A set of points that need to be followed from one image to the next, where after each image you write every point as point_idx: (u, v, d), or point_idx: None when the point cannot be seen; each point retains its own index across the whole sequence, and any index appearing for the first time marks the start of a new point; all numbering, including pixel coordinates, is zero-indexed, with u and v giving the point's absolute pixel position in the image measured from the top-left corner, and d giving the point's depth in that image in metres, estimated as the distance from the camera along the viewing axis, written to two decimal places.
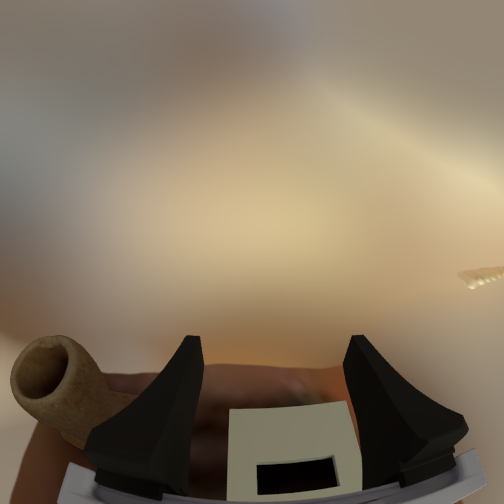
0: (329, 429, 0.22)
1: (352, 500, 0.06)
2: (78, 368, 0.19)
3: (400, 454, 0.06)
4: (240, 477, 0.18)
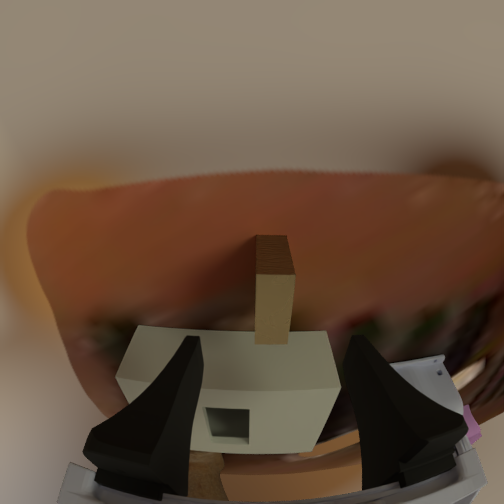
0: None
1: (352, 500, 0.06)
2: None
3: (400, 454, 0.06)
4: (229, 449, 0.22)
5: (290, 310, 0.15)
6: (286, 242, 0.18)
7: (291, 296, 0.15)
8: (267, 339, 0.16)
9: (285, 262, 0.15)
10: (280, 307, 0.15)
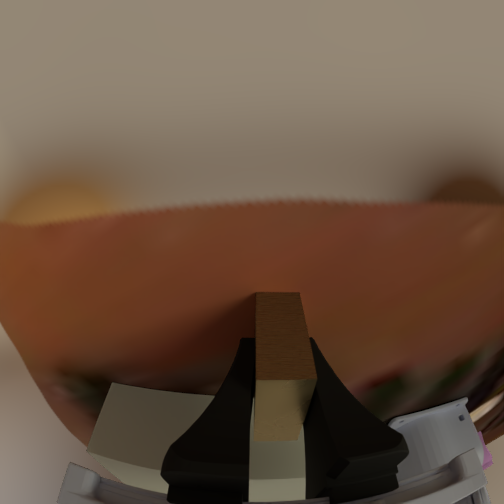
0: (146, 476, 0.12)
1: (352, 500, 0.06)
2: None
3: (327, 469, 0.06)
4: None
5: (304, 413, 0.10)
6: (300, 307, 0.12)
7: (308, 400, 0.09)
8: (271, 437, 0.10)
9: (300, 351, 0.10)
10: (290, 411, 0.09)
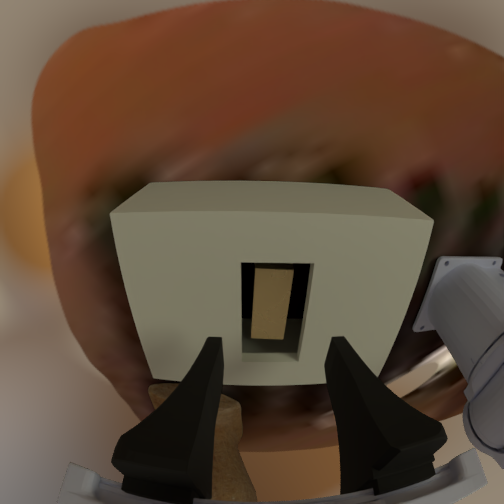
0: (179, 259, 0.13)
1: (352, 500, 0.06)
2: None
3: (373, 461, 0.06)
4: (267, 375, 0.17)
5: (287, 305, 0.16)
6: None
7: (288, 291, 0.15)
8: (263, 333, 0.17)
9: None
10: (277, 302, 0.16)
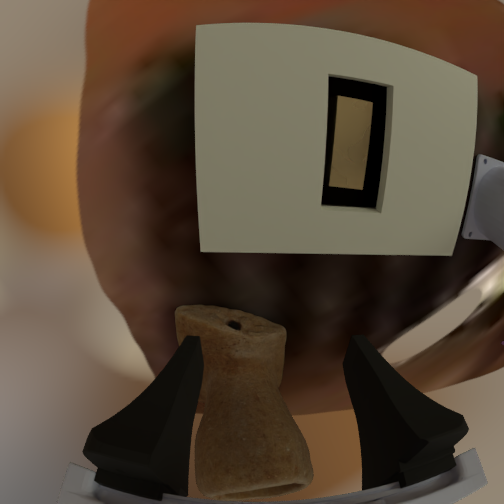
0: (266, 67, 0.11)
1: (352, 500, 0.06)
2: (250, 483, 0.13)
3: (400, 454, 0.06)
4: (346, 235, 0.15)
5: (367, 142, 0.13)
6: None
7: (369, 125, 0.13)
8: (343, 179, 0.14)
9: None
10: (358, 137, 0.13)
